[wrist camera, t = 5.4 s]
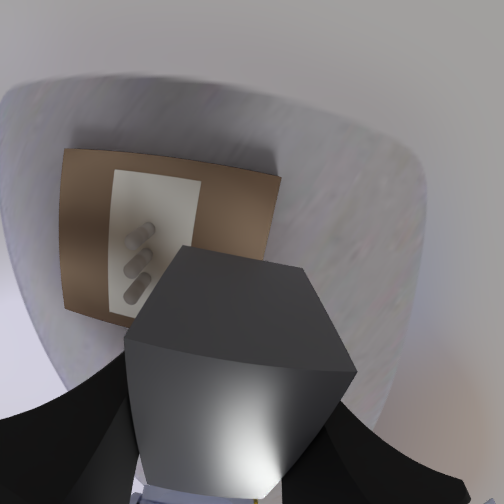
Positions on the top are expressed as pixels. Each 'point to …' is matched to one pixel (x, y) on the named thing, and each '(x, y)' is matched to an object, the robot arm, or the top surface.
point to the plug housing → (230, 373)
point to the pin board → (150, 223)
